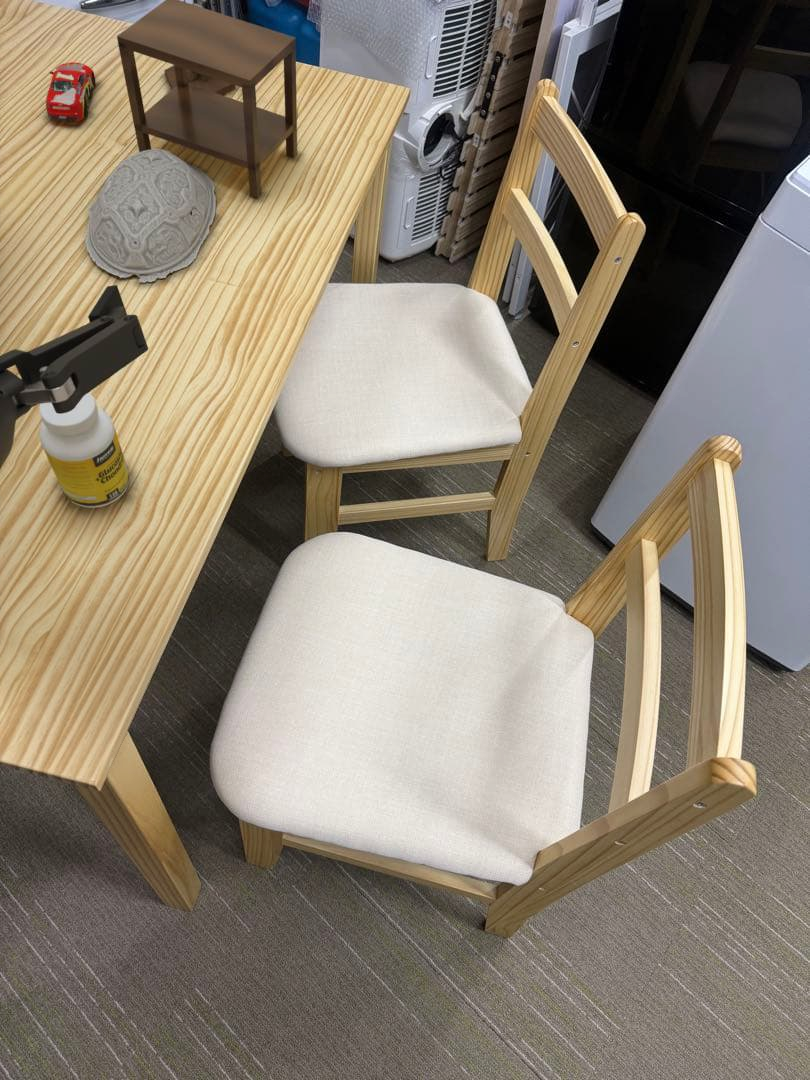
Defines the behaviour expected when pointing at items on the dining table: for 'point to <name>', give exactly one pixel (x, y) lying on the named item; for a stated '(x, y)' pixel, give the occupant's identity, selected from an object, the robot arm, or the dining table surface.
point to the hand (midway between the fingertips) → (32, 316)
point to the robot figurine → (200, 77)
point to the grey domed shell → (150, 216)
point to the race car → (70, 92)
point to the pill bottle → (84, 453)
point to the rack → (203, 114)
